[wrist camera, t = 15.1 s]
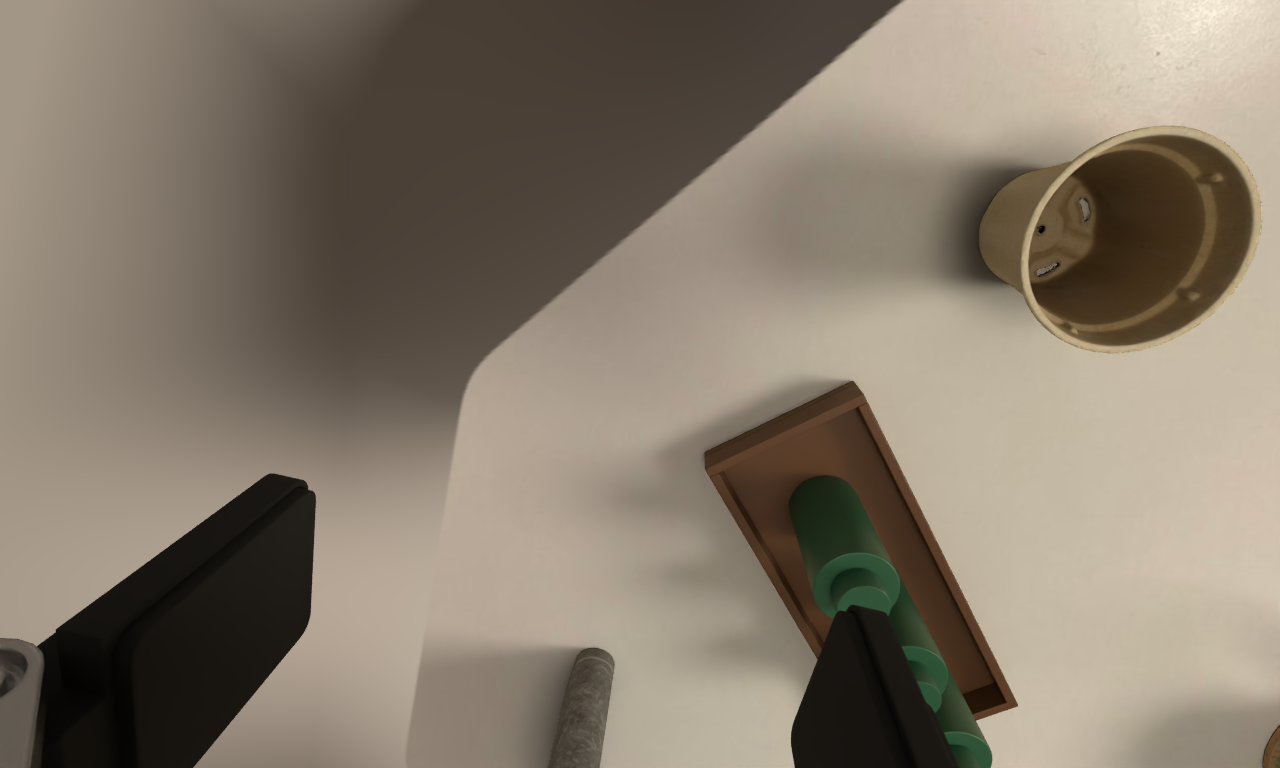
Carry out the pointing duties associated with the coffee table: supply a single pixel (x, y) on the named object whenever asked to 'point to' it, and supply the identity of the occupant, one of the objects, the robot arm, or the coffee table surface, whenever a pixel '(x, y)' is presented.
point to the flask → (584, 712)
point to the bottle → (841, 548)
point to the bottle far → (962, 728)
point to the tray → (859, 454)
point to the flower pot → (1127, 237)
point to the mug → (1273, 752)
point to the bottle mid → (919, 647)
